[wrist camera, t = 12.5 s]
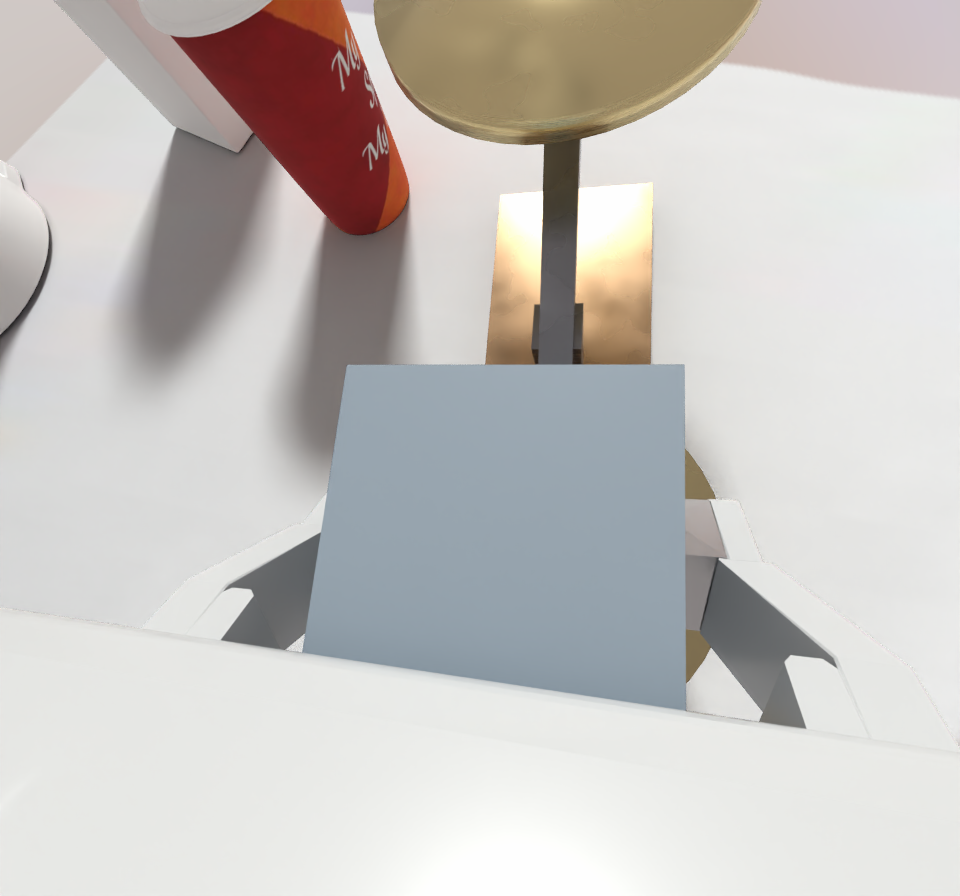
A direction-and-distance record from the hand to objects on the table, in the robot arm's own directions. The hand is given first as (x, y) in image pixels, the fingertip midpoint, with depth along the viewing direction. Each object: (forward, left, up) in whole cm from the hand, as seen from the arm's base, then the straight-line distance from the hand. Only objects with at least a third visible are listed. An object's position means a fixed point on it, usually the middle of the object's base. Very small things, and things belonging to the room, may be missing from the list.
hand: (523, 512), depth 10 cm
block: (0, -1, -4) cm, 4 cm away
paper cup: (-13, +20, -14) cm, 28 cm away
